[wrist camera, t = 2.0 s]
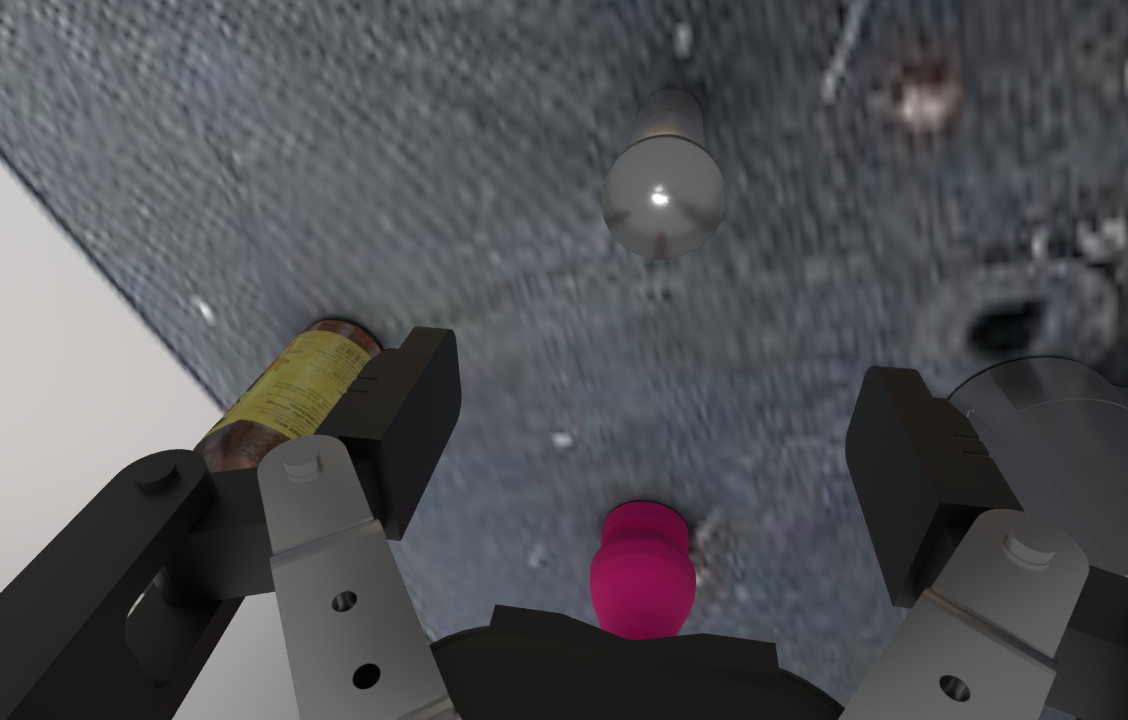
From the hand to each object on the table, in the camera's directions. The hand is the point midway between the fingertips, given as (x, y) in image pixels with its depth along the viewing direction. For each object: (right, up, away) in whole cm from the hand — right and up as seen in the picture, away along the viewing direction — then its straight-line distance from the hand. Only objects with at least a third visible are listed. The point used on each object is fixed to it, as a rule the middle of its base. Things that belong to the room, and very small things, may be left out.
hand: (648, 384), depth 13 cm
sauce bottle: (-16, +1, +30) cm, 34 cm away
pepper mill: (+4, -12, +35) cm, 37 cm away
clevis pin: (+4, +12, +19) cm, 23 cm away
